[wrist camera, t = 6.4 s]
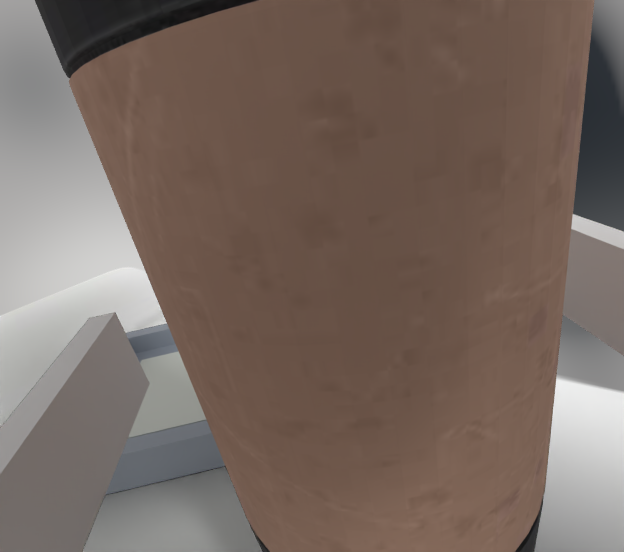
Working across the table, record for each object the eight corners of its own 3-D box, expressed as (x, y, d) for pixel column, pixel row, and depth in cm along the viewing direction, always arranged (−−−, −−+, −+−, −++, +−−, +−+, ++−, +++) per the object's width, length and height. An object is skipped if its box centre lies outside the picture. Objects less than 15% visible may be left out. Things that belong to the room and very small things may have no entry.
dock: (412, 294, 32) (409, 268, 31) (497, 400, 21) (498, 364, 20) (126, 359, 32) (114, 335, 31) (46, 509, 20) (21, 478, 19)
